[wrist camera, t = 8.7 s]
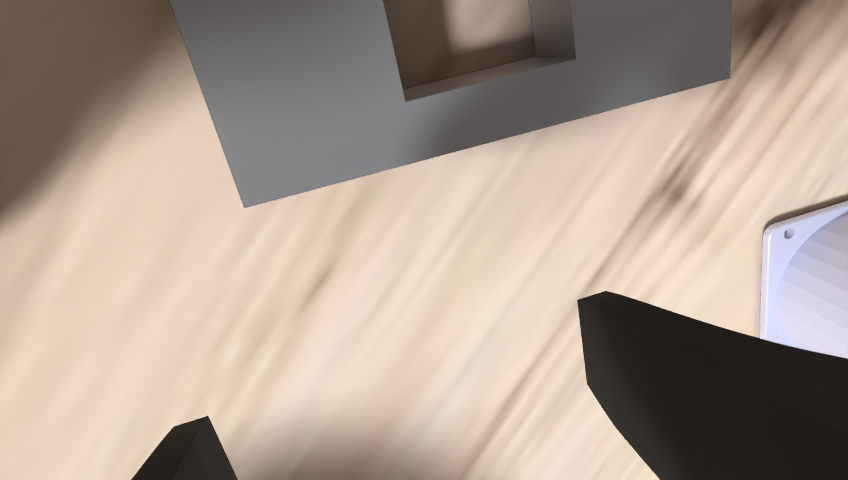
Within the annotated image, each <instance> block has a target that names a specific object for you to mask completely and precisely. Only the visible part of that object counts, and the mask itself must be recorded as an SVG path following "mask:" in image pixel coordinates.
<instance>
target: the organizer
mask: <svg viewBox="0 0 848 480" xmlns="http://www.w3.org/2000/svg"><path fill="white" fill-rule="evenodd" d="M169 2H170V5H171V7H172V10H173V13H174V16H175V18H176V21H177V24H178V27H179V30H180V32H181V35H182V38H183V41H184V43H185V46H186V49H187V52H188V54H189V57H190V60H191V63H192V65H193V68H194V71H195V74H196V76H197V79H198V82H199V85H200V87H201V90H202V93H203V96H204V98H205V101H206V104H207V107H208V110H209V112H210V115H211V118H212V121H213V123H214V126H215V129H216V132H217V134H218V137H219V140H220V143H221V145H222V148H223V151H224V154H225V156H226V159H227V162H228V165H229V167H230V170H231V173H232V176H233V178H234V181H235V184H236V187H237V190H238V192H239V195H240V198H241V201H242V203H243V206H244V208H247V207H250V206H254V205H258V204H262V203H265V202H269V201H273V200H277V199H280V198H284V197H288V196H291V195H295V194H299V193H303V192H306V191H310V190H314V189H318V188H321V187H325V186H329V185H333V184H336V183H340V182H344V181H347V180H351V179H355V178H359V177H362V176H366V175H370V174H374V173H377V172H381V171H385V170H389V169H392V168H396V167H400V166H404V165H407V164H411V163H415V162H418V161H422V160H426V159H430V158H433V157H437V156H441V155H445V154H448V153H452V152H456V151H460V150H463V149H467V148H471V147H474V146H478V145H482V144H486V143H489V142H493V141H497V140H501V139H504V138H508V137H512V136H516V135H519V134H523V133H527V132H531V131H534V130H538V129H542V128H545V127H549V126H553V125H557V124H560V123H564V122H568V121H572V120H575V119H579V118H583V117H587V116H590V115H594V114H598V113H601V112H605V111H609V110H613V109H616V108H620V107H624V106H628V105H631V104H635V103H639V102H643V101H646V100H650V99H654V98H658V97H661V96H665V95H669V94H672V93H676V92H680V91H684V90H687V89H691V88H695V87H699V86H702V85H706V84H710V83H714V82H717V81H721V80H725V79H728V78H730V51H731V0H529V5H530V13H531V21H532V29H533V37H534V45H535V53H536V56H535V57H531V58H527V59H523V60H519V61H515V62H511V63H507V64H503V65H499V66H495V67H491V68H487V69H483V70H479V71H475V72H471V73H467V74H463V75H459V76H455V77H451V78H447V79H443V80H439V81H435V82H431V83H427V84H423V85H419V86H415V87H411V88H407V89H402V84H401V80H400V75H399V71H398V66H397V62H396V57H395V53H394V48H393V44H392V39H391V34H390V30H389V25H388V21H387V16H386V12H385V7H384V3H383V0H169Z"/></svg>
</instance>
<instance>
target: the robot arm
mask: <svg viewBox="0 0 848 480" xmlns="http://www.w3.org/2000/svg"><path fill="white" fill-rule="evenodd" d="M786 230H787V231H786ZM785 231H786V233H785ZM784 233H785V234H784ZM577 301H578V310H579V318H580V327H581V336H582V344H583V353H584V361H585V370H586V378H587V385H588V386H589V388H590V389H591V391H592V392H593V394H594V396H595V397H596V399H597V400H598V402H599V403H600V405H601V407H602V408H603V410H604V411H605V413H606V414H607V415H608V417H609V418H610V420H611V421H612V423H613V424H614V426H615V427H616V428H617V430H618V431H619V432H620V433H621V434H622V436H623V437H624V438H625V439H626V440H627V441H628V443H629V444H630V445H631V446H632V447H633V449H634V450H635V451H636V452H637V453H638V454H639V456H640V457H641V458H642V459H643V460H644V462H645V463H646V464H647V465H648V466H649V467H650V468H651V470H652V471H653V472H654V473H655V474H656V475H657V477H658V478H659V479H660V480H848V201H845V202H842V203H839V204H835V205H832V206H829V207H826V208H822V209H819V210H816V211H813V212H810V213H806V214H803V215H800V216H797V217H793V218H790V219H787V220H784V221H781V222H777V223H774V224H772V225H770V226H769V227H768V228H767V229H766V230H765V232H764V234H763V251H762V281H761V310H760V338H757V337H753V336H749V335H746V334H742V333H738V332H735V331H731V330H728V329H725V328H721V327H718V326H715V325H712V324H708V323H705V322H702V321H699V320H696V319H693V318H690V317H686V316H683V315H680V314H677V313H674V312H671V311H668V310H665V309H662V308H659V307H656V306H653V305H650V304H647V303H644V302H641V301H638V300H635V299H632V298H629V297H626V296H623V295H619V294H616V293H612V292H608V291H604V292H601V293H598V294H595V295H592V296H588V297H585V298H582V299H579V300H577ZM132 480H238V479H237V477H236V475H235V473H234V471H233V468H232V466H231V464H230V462H229V460H228V458H227V456H226V453H225V451H224V449H223V447H222V445H221V443H220V440H219V438H218V436H217V434H216V432H215V430H214V427H213V425H212V423H211V421H210V419H209V417H208V416H206V417H203V418H200V419H197V420H194V421H190V422H187V423H184V424H181V425H178V426H175V427H173V428H172V429H171V431H170V432H169V433H168V434H167V435H166V436H165V438H164V439H163V440H162V441H161V442H160V444H159V445H158V446H157V447H156V449H155V450H154V451H153V453H152V454H151V455H150V456H149V458H148V459H147V460H146V462H145V463H144V464H143V465H142V467H141V468H140V469H139V471H138V472H137V473H136V474H135V476H134V477H133V478H132Z"/></svg>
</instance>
